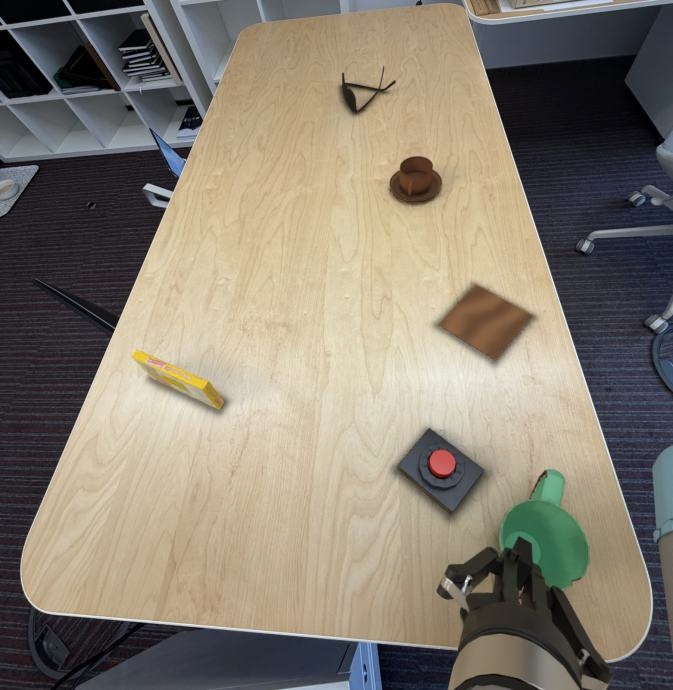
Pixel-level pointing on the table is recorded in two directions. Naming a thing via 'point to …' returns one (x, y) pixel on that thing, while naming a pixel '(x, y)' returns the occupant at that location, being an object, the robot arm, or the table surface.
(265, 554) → the table surface
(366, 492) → the table surface
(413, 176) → the cup and saucer
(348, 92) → the sunglasses
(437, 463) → the stop button
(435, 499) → the control block
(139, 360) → the candy box
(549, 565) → the mug
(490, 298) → the brown pad
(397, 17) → the table surface
